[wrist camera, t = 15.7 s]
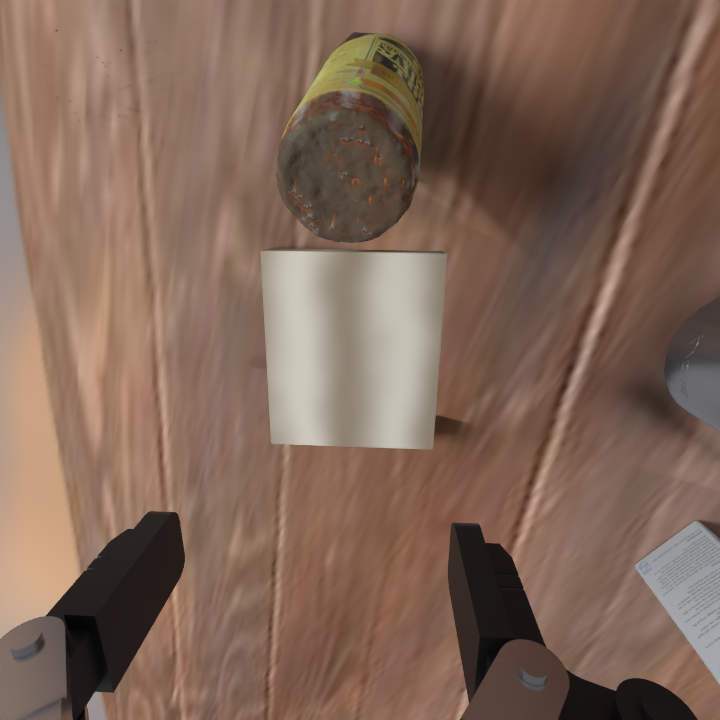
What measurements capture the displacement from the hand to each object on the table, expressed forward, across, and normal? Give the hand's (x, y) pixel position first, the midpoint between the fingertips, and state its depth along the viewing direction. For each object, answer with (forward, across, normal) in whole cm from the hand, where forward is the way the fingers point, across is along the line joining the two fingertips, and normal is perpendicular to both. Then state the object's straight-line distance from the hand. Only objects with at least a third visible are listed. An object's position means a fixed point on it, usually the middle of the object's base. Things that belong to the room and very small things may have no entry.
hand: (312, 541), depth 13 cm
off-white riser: (+21, 0, 0) cm, 21 cm away
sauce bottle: (+9, 0, -10) cm, 13 cm away
